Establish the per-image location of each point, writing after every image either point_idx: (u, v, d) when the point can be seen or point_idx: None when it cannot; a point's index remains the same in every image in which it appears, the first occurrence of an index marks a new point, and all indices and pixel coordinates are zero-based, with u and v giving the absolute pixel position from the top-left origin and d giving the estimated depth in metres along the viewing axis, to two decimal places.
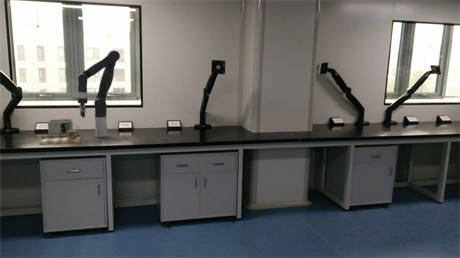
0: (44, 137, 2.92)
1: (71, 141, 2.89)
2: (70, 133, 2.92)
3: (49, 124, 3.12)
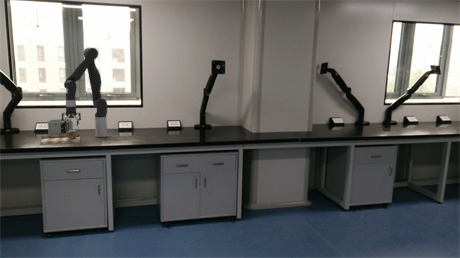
0: (44, 137, 2.92)
1: (71, 141, 2.89)
2: (70, 133, 2.92)
3: (49, 124, 3.12)
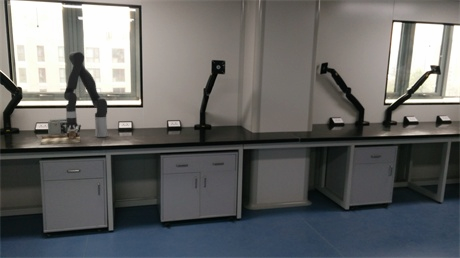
0: (44, 137, 2.92)
1: (71, 141, 2.89)
2: (70, 133, 2.92)
3: (49, 124, 3.12)
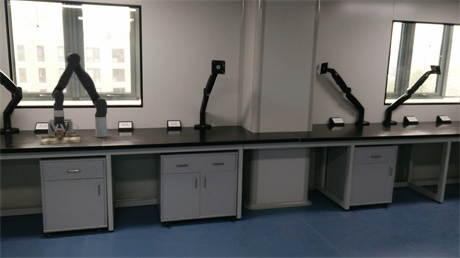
0: (44, 137, 2.92)
1: (71, 141, 2.89)
2: (57, 132, 2.88)
3: (49, 124, 3.12)
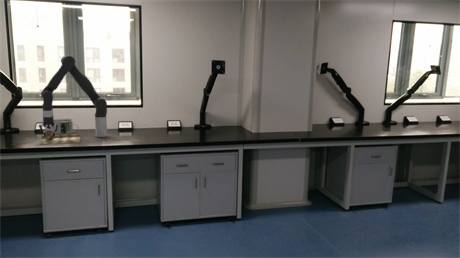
0: (44, 137, 2.92)
1: (71, 141, 2.89)
2: (47, 133, 2.85)
3: None
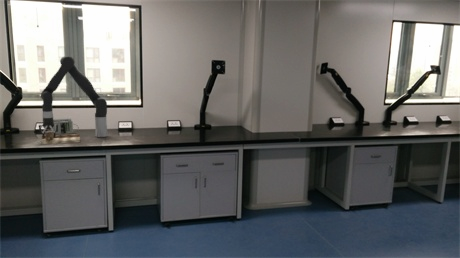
0: None
1: (71, 141, 2.89)
2: (46, 134, 2.85)
3: None
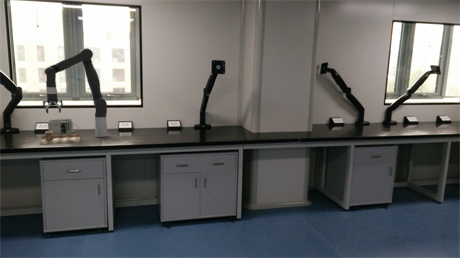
0: (44, 137, 2.92)
1: (71, 141, 2.89)
2: (46, 134, 2.85)
3: (49, 124, 3.12)
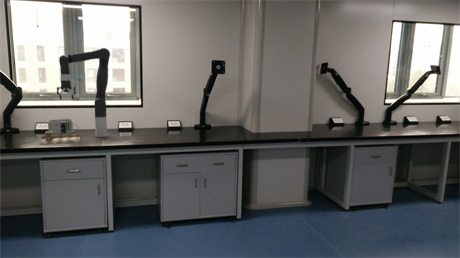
0: (44, 137, 2.92)
1: (71, 141, 2.89)
2: (46, 134, 2.85)
3: (49, 124, 3.12)
